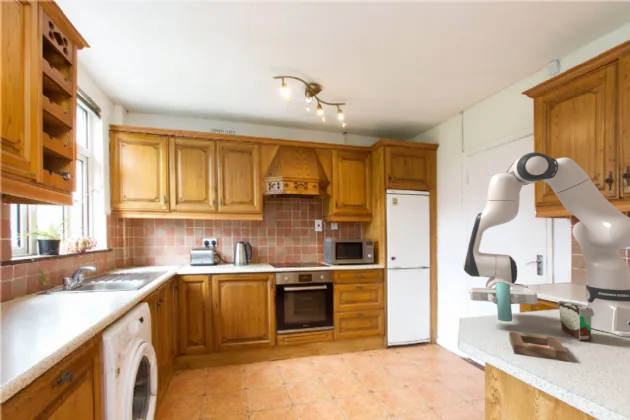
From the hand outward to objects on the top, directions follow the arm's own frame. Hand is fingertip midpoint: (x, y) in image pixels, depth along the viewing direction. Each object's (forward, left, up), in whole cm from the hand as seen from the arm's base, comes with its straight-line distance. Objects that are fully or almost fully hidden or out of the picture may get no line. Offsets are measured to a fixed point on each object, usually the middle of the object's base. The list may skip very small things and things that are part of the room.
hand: (503, 300), depth 101 cm
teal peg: (0, -1, -6) cm, 7 cm away
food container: (-22, -9, -12) cm, 26 cm away
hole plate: (-7, +10, -11) cm, 17 cm away
